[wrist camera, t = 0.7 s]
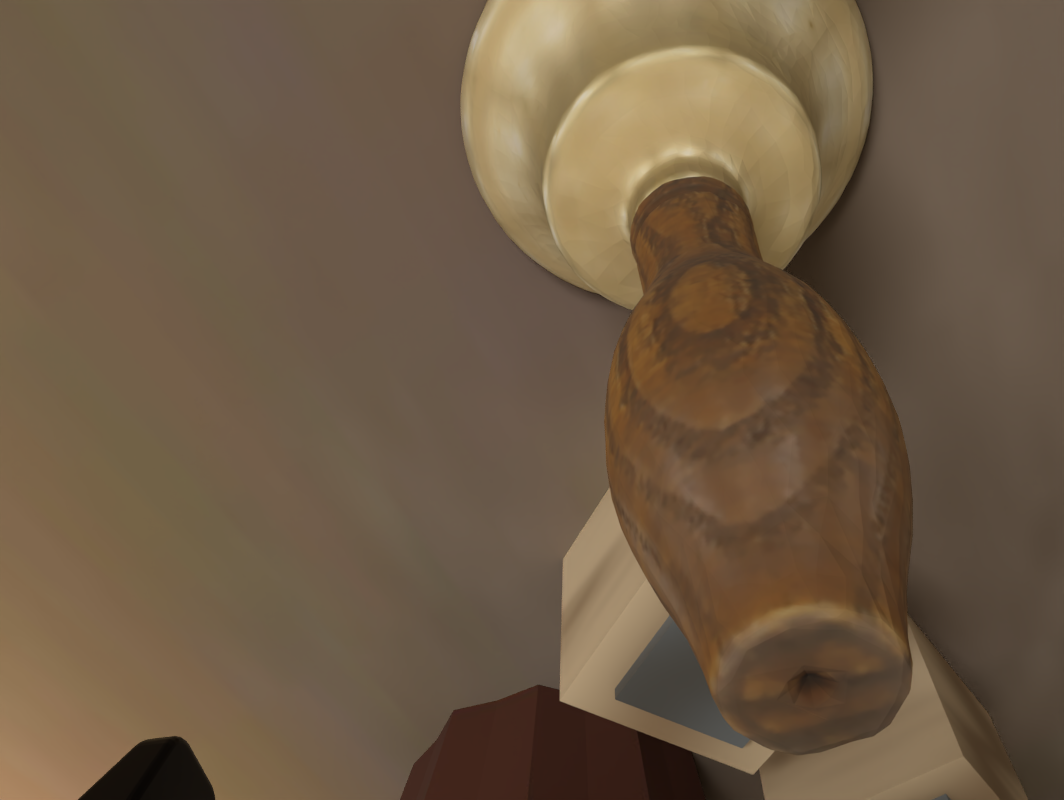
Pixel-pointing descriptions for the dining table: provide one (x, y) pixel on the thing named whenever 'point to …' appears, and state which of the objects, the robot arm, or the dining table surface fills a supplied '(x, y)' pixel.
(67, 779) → the dining table surface
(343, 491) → the dining table surface
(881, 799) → the oak block
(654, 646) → the oak block
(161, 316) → the dining table surface
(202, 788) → the robot arm
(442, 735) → the muffin
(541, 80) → the hand bell
